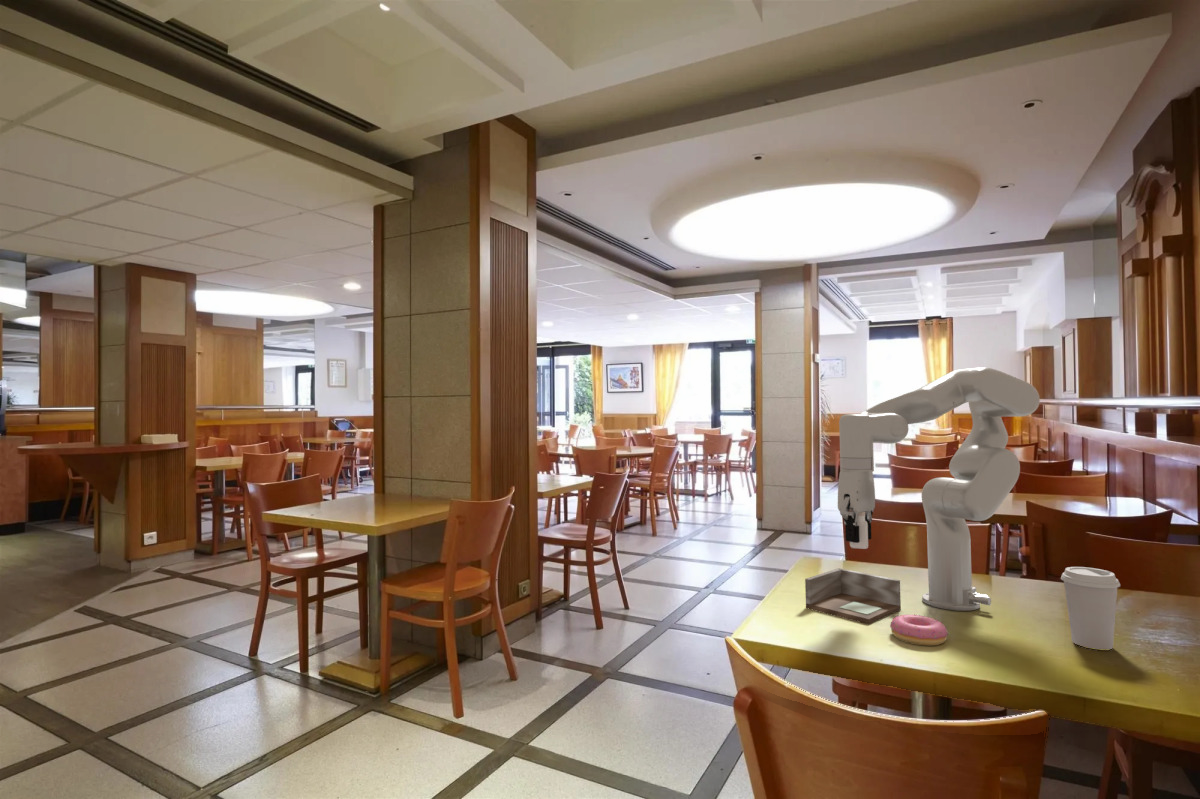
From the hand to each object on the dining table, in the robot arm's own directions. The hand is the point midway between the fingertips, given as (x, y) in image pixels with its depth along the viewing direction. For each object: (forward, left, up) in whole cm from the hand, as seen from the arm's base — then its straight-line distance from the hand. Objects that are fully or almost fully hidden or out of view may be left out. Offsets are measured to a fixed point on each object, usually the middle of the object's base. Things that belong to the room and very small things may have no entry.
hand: (858, 539), depth 147 cm
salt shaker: (0, 0, -2) cm, 2 cm away
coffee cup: (-41, -16, -18) cm, 48 cm away
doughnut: (-16, +6, -18) cm, 25 cm away
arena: (+3, -2, -18) cm, 18 cm away
